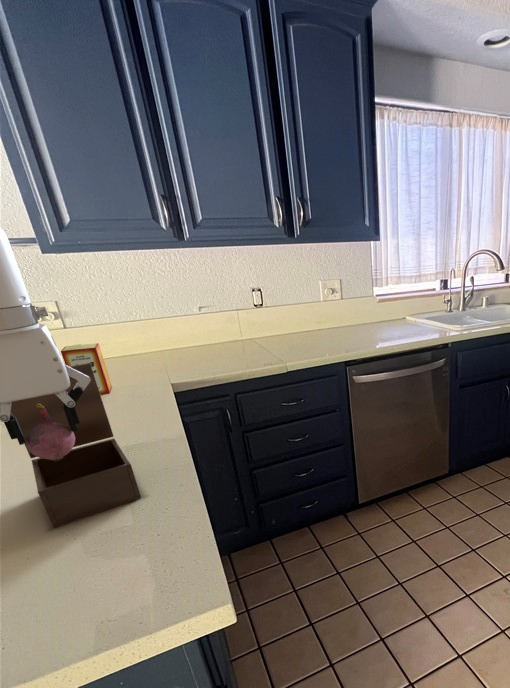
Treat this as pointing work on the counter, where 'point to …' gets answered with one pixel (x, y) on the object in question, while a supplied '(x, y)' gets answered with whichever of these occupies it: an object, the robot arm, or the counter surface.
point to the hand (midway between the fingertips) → (48, 434)
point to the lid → (87, 409)
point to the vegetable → (50, 438)
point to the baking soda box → (92, 356)
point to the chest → (85, 482)
